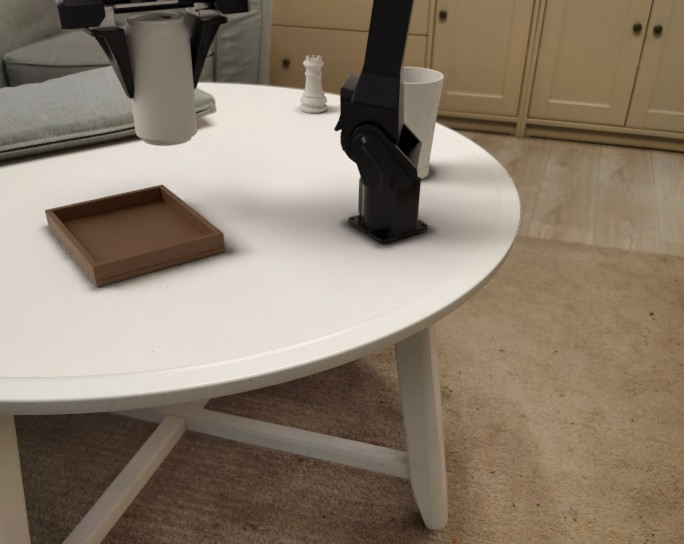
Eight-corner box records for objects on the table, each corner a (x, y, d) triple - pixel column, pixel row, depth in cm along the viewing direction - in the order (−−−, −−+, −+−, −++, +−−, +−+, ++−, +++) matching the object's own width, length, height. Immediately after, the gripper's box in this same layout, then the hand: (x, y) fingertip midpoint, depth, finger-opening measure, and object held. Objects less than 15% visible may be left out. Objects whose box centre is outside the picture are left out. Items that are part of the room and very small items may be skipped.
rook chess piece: (297, 112, 111) (295, 59, 107) (303, 104, 115) (302, 52, 111) (325, 114, 111) (325, 60, 106) (330, 106, 115) (330, 54, 110)
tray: (225, 251, 72) (223, 232, 71) (96, 287, 66) (92, 267, 64) (164, 201, 82) (162, 184, 81) (48, 228, 76) (44, 209, 75)
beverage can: (210, 137, 76) (201, 15, 70) (166, 152, 71) (153, 22, 65) (167, 127, 79) (155, 9, 72) (123, 140, 74) (106, 15, 68)
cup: (431, 185, 87) (441, 85, 80) (368, 180, 88) (371, 80, 82) (437, 163, 94) (446, 68, 87) (378, 158, 95) (382, 64, 88)
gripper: (198, -92, 74) (212, 65, 83) (10, -88, 65) (47, 87, 74) (248, -85, 66) (257, 87, 75) (42, -80, 57) (80, 114, 66)
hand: (162, 92), depth 73 cm, fingers closed on beverage can, 6 cm apart
